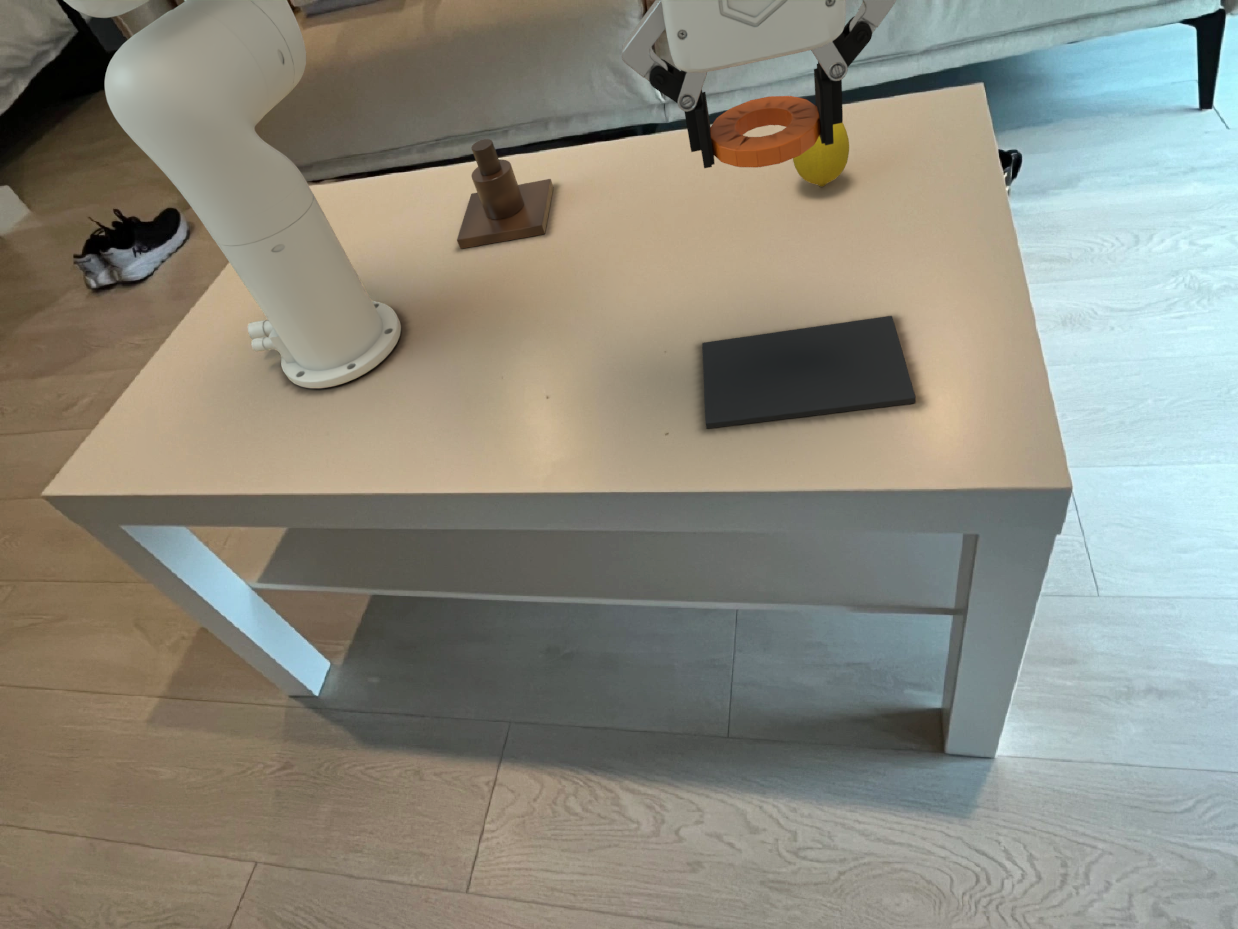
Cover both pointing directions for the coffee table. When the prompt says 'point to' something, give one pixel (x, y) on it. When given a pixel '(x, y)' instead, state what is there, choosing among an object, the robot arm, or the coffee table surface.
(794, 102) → the orange flat ring
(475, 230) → the brown stepped peg stand
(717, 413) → the mat
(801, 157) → the lemon
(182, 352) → the coffee table surface
